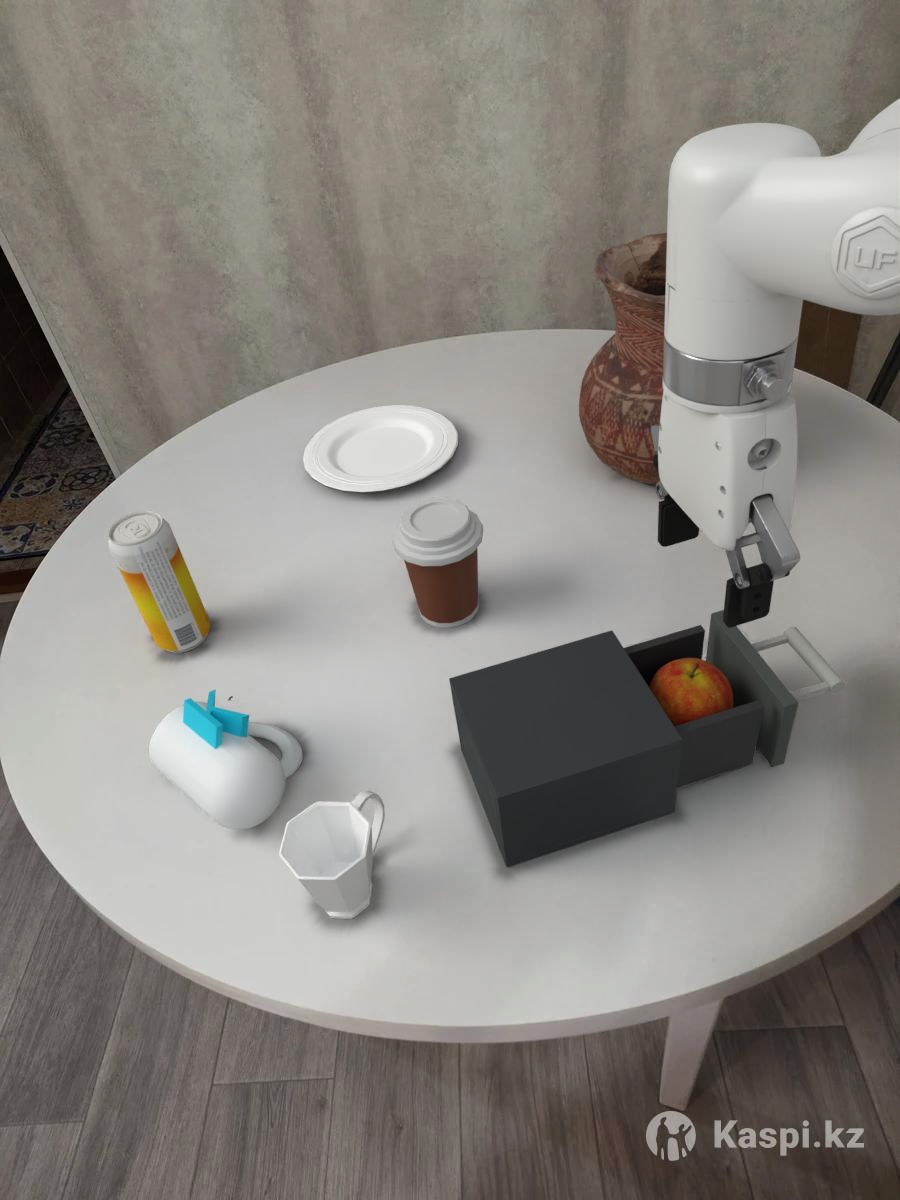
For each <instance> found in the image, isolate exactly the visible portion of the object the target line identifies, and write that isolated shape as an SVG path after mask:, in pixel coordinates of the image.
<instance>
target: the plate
mask: <svg viewBox="0 0 900 1200" xmlns="http://www.w3.org/2000/svg"><path fill="white" fill-rule="evenodd" d="M458 447H459V433H458V430H457V428H456V426H455V424H454V423H453V422H452V421H450V420H449V419H448V417H446V416H445V415H444V414H441V413H439V412H436V411H435V410H432V409H431V408H426V407H420V406H417V405H407V404H406V405H405V404H391V405H390V404H389V405H382V406H381V405H379V406H373V407H369V408H364V409H360V410H357V411H354V412H351V413H348V414H346V415H343V416H340V417H339V418H337V419H335V420H333V421H332V422H329V423H328V424H326V425H325V426H324V427H322V428H321V429H320V430H318V431H317V433H315V434H314V435H313V436H312V438H311V439H310V440H309V442H308V443H307V445H306V446H305V448H304V451H303V456H302V461H303V466H304V469H305V471H306V472H307V474H308V475H309V476H310V478H311V479H312V480H314V481H315V482H317V483H318V484H320V485H322V486H324V487H326V488H328V489H332V490H336V491H339V492H343V493H355V494H373V493H384V492H385V493H386V492H391V491H394V490H398V489H402V488H406V487H409V486H411V485H414V484H416V483H418V482H421V481H424V480H426V479H427V478H429V477H431V476H432V475H434V474H435V473H437V472H438V471H440V470H441V469H443V467H445V465H447V463H448V462H450V460H452V459H453V457H454V454H455V453H456V451H457V449H458Z"/></svg>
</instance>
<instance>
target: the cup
mask: <svg viewBox="0 0 900 1200" xmlns="http://www.w3.org/2000/svg"><path fill="white" fill-rule="evenodd" d="M370 799H371V800H372V803H373V805H374V817H373V821H372V823H371V822H370V820H369V819H368V818H367V817H366V816H365V815H364V814H363V813H362V812H361V811H362V810H363V808H364V806H365V804H366V802H367V801H369V800H370ZM385 814H386V813H385V804H384V801H383V799H382V798H381V796H379V794H378V793H376V792H374V791H371V790H362V791H360V792H359V793H358V794H357V795H356V796H355V797H354V799H353V800H352V801H323V800H322V801H318V800H317V801H315V802H314V803H311V805H309V806H308V807H306V808H305V809H303V810H302V811H301V812H300V813H298V814H297V815H295V816H294V817H293V818H291V819H290V820H288V821H287V822H286V824H285V828H284V833H283V835H282V840H281V843H280V848H279V851H278V856H279V857H280V858H281V860H282V862H284V864H285V865H286V866H287V867H288V869H289V870H290V871H291V872H292V874H293V875H294V877H296V879H297V880H298V881H299V882H300V884H301V885H302V886H303V888H304V889H305V890H306V891H307V892H308V894H309V895H310V896H311V898H312V899H313V900H314V902H316V904H317V905H319V907H320V908H322V909H323V910H324V911H325V913H326V914H327V915H328V916H329V917H330V919H342V920H343V919H345V920H346V919H347V920H348V919H349V920H353V919H354V918H355V917H356V916H358V915H360V913H362V912H363V911H364V910H365V909H366V908H368V907H369V906H370V905H371V899H372V893H373V886H374V884H373V882H372V877H373V868H374V854H375V852H376V848H377V846H378V842H379V840H380V837H381V834H382V830H383V826H384V821H385Z"/></svg>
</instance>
